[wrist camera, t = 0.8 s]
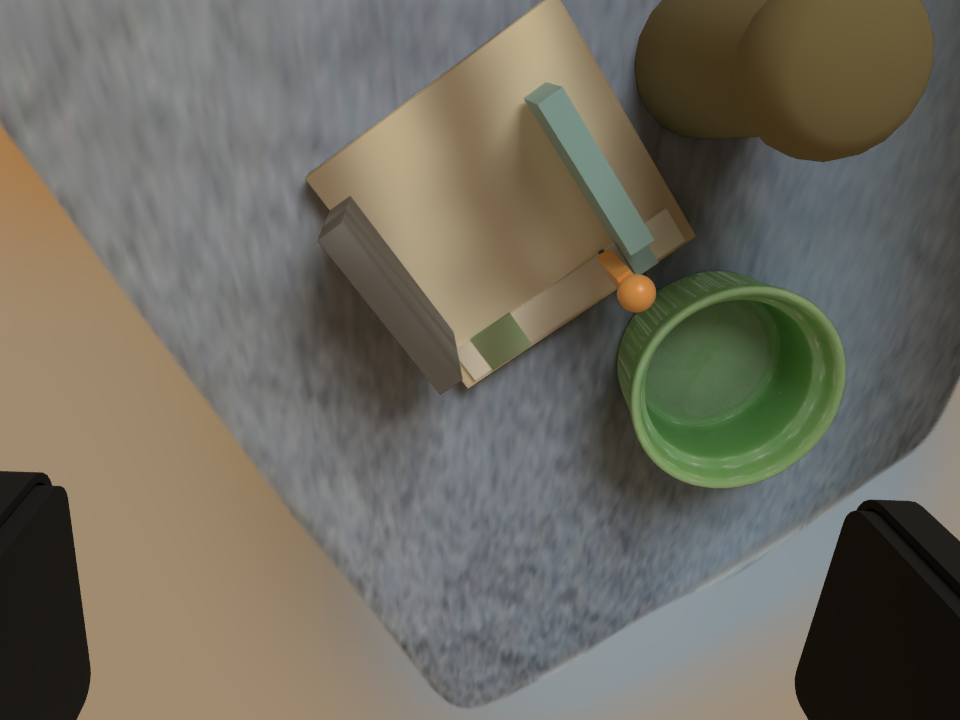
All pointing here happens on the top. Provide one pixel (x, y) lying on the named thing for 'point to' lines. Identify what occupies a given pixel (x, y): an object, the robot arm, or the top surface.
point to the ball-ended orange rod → (628, 284)
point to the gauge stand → (486, 204)
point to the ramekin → (729, 378)
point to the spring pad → (593, 174)
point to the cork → (786, 71)
